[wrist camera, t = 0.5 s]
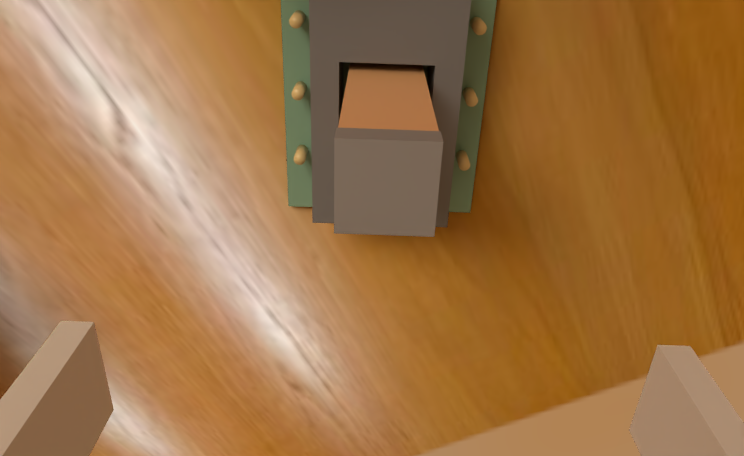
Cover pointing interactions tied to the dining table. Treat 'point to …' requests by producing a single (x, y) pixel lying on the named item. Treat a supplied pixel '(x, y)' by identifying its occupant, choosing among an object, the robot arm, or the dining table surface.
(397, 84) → the plug
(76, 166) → the dining table surface
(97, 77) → the dining table surface
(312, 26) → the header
